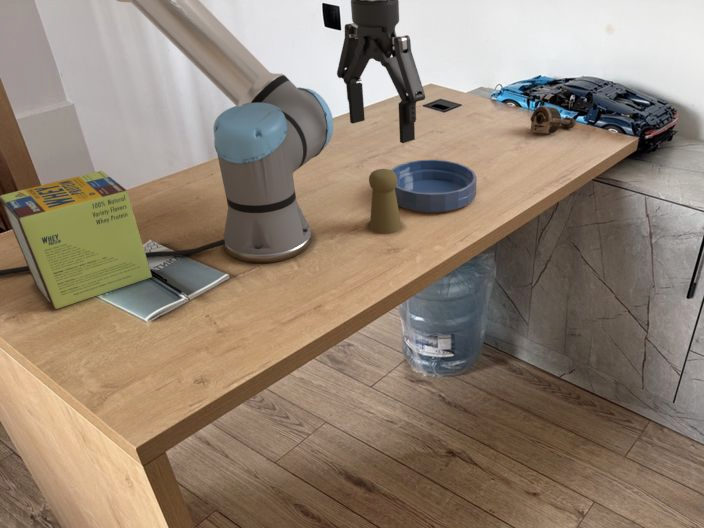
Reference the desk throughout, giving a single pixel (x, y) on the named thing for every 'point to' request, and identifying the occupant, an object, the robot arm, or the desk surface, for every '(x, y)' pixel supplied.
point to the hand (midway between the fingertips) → (381, 131)
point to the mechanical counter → (549, 120)
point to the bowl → (434, 185)
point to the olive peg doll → (384, 202)
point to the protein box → (77, 237)
